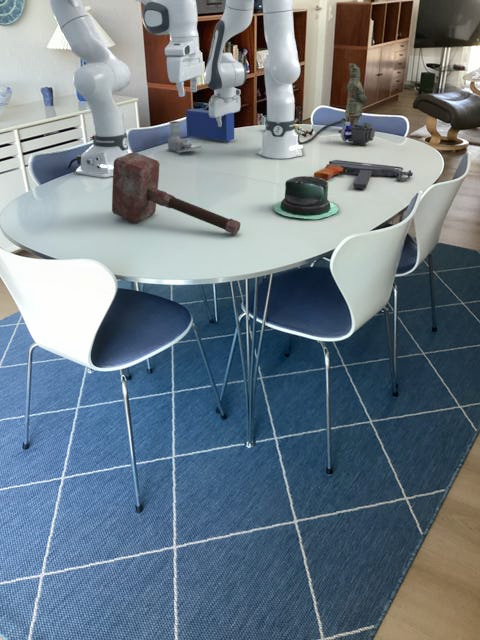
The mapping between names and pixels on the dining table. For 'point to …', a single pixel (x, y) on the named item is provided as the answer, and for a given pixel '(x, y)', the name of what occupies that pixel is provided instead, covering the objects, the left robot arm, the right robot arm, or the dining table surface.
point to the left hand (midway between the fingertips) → (188, 94)
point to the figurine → (302, 131)
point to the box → (209, 125)
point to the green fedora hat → (306, 199)
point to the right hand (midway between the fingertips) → (225, 125)
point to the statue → (354, 96)
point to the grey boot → (178, 140)
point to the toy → (357, 133)
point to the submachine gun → (360, 171)
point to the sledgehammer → (152, 194)
